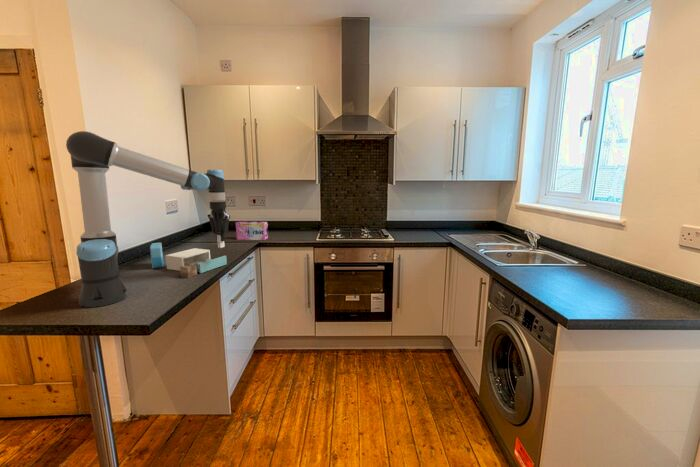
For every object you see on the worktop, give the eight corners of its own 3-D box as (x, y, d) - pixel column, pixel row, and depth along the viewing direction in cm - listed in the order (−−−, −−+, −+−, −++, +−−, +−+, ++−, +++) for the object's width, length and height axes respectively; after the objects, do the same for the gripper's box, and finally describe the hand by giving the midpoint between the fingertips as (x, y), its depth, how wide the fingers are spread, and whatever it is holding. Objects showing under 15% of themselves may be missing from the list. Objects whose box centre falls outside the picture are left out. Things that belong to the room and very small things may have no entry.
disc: (192, 265, 164) (192, 262, 164) (205, 261, 171) (204, 258, 171) (204, 267, 161) (203, 263, 161) (216, 263, 168) (215, 260, 168)
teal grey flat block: (226, 264, 171) (226, 255, 171) (200, 273, 156) (199, 263, 155) (209, 261, 176) (209, 253, 175) (182, 270, 160) (181, 261, 159)
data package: (159, 246, 164) (161, 242, 174) (149, 247, 162) (151, 242, 172) (162, 268, 166) (163, 262, 176) (152, 269, 164) (154, 263, 174)
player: (210, 262, 176) (209, 250, 175) (183, 271, 160) (181, 257, 159) (195, 260, 181) (194, 248, 180) (166, 268, 165) (165, 255, 163)
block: (188, 277, 150) (187, 267, 149) (181, 276, 152) (180, 266, 151) (197, 274, 154) (196, 265, 153) (189, 273, 156) (188, 264, 155)
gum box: (270, 238, 246) (269, 221, 244) (266, 240, 239) (265, 222, 236) (240, 237, 248) (239, 220, 246) (236, 239, 240) (235, 222, 238)
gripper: (233, 200, 156) (236, 246, 160) (213, 200, 161) (217, 244, 165) (222, 202, 149) (225, 249, 153) (201, 201, 154) (205, 247, 158)
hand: (221, 247), depth 159 cm, fingers closed
